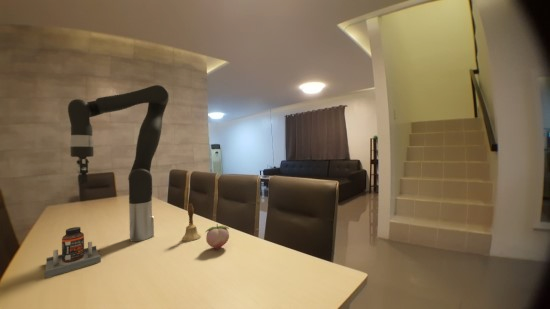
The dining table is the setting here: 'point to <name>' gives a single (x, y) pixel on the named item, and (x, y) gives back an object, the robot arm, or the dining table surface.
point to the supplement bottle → (73, 245)
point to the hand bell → (191, 227)
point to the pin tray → (59, 267)
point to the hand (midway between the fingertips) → (82, 182)
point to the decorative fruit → (217, 236)
